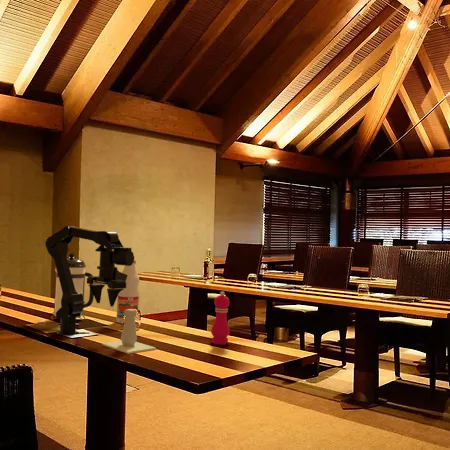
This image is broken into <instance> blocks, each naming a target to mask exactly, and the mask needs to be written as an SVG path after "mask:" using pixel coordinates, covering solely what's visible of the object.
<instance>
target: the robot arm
mask: <svg viewBox="0 0 450 450" xmlns="http://www.w3.org/2000/svg"><path fill="white" fill-rule="evenodd" d="M74 237H75V238H78V239H83V240H87V241H92V242H94V243H95V244H97V245H99V246H98V247H96V248H95V250H94V251H95V252H99V265H97V266H96V269H97V270H98V275H93V276H89V277H87V278H86V284H87V285H88V286H89V289H90V288H91V290H92V292H93V295H94V300H95V302H96V303H97V304H101V300H102V299H101V298H102V291H103V289H104V288H105V286H107V288H106V292H107V297H108V302H109V305H110V307H112V308H113V307H114V306H115V304H116V300H117V299H118V294H119V292H121V291H122V290H124V288H126V284H127V283H126V279H127V276H128V275H126V274H124V273H122V272H121V271H120V270H118V266H124V267H125V266H131V265H132V264H133V262H134V260H135V256H134V255H135V254H134V252H133V251H132V250H133V249H132V247H124V245H123V244H122V241H121V240H120V239H119V234H118V232H116V231H111V230H109V231H108V230H100V231H99V230H93V229H87V228H82V227H77V226H75V225H65V226H64V227H62V229H60V230H59V231H57V232H55V233H53V234H52V235H51V236H48V237H47V238H46V240H45V241H44V243H45V248H46V250H47V253H48V254H49V256H50V257H51V258H52V259H53V261H54V265H55V268H56V269H57V271H56V272H57V273H58V277H59V281H60V285H61V289H62V292H63V295H62V299H61V308H60V309H59V310H58V311H57V312H56V316H55V317H56V318H55V319H60V323H59V324H60V325H59V330H56V333H57V334H60V335H63V336H67V335H76V334H78V335H79V334H80V333H79V331H76V329H77V328H76V327H77V318H76V317H80V315H81V312H82V311H83V312H84V309H85V308H84V304H86V301H85V299H84V300H83V295H82V293H80V294H78V293H77V292H76V290H75V287H74V283H73V279H72V275H71V272H70V268H69V264H68V260H67V258H68V257H67V255H68V251H69V244H70V243H72V241H73V239H74ZM116 265H117V266H116ZM80 318H81V317H80Z"/></svg>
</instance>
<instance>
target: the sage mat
mask: <svg viewBox="0 0 450 450" xmlns="http://www.w3.org/2000/svg"><path fill="white" fill-rule="evenodd" d="M101 345H102V346H104V347H107V348H110V349H113V350H115V351H118V352H122V353H125V354H128V355H129V354H133V353H134V354H135V353H142V352H147V351H148V352H149V351H154V350H157V347H154V346H152V345H148V344H145V343H141V342H138V341H136V343H135V344H134V346H130V347H127V346H123V344H122V341H121V340H117V341H116V340H115V341H108V342H102V343H101Z"/></svg>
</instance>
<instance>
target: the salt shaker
mask: <svg viewBox="0 0 450 450" xmlns="http://www.w3.org/2000/svg"><path fill="white" fill-rule="evenodd" d="M124 315H125V316H126V317H125V322H124V324H123V327H122V330H121V336H120V341H122V344H123V346H127V347H130V346H134V344H135V343H136V342H138V341H137V340H138V336H137V329H136V323H135V318H134V316H136V310H134V309H126V310H125V311H124Z"/></svg>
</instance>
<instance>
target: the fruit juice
mask: <svg viewBox="0 0 450 450" xmlns="http://www.w3.org/2000/svg"><path fill="white" fill-rule="evenodd" d="M136 262H137V261H136V260H135V259H134V262H133V264H132V265H131V266H125V265H124V267H123V269H122V272H121V273H124V274H126V275H128V276H127V279H126V283H127V284H126V288H124V290H122V291H121V292H119V294H118V296H117V299H116V300H117V303H116V323H117V324H122V322H123V311H125V310H126V309H137V310H138V311H139V298H140V289H139V284H140V277H139V275H138V271H137V269H136V266H135V265H136ZM122 325H123V324H122Z"/></svg>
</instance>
